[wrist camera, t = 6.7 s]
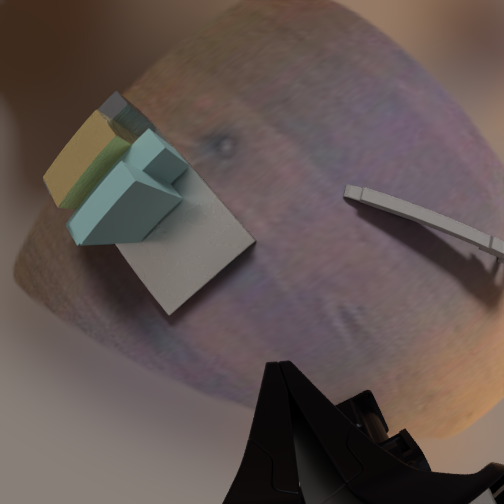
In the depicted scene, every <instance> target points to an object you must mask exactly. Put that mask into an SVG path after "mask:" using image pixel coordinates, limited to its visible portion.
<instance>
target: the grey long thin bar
mask: <svg viewBox="0 0 504 504" xmlns="http://www.w3.org/2000/svg"><path fill="white" fill-rule="evenodd" d="M344 197H347V198H350V199H354V200H357V201H359V202H361V203H364V204H367V205H369V206H372V207H375V208H378V209H381V210H384V211H387V212H390V213H392V214H395V215H398V216H401V217H404V218H407V219H410V220H412V221H415V222H418V223H421V224H423V225H426V226H429V227H431V228H434V229H436V230H439V231H441V232H444V233H446V234H449V235H451V236H454V237H456V238H459V239H461V240H463V241H466V242H468V243H470V244H473V245H475V246H477V247H479V249H480V250H482V251H485V252H487V253H489V254H491V255H494V256H496V257H498V261H497V262H499V263H504V241H502V240H500V239H498V238H496V237H494V236H489V235H487V234H485V233H483V232H480V231H478V230H476V229H474V228H472V227H469V226H467V225H465V224H462V223H460V222H458V221H455V220H453V219H451V218H448V217H446V216H443V215H441V214H438V213H436V212H433V211H431V210H428V209H426V208H423V207H420V206H418V205H415V204H412V203H410V202H407V201H404V200H401V199H398V198H395V197H393V196H390V195H387V194H384V193H381V192H377V191H374V190H371V189H368V188H365V187H364V188H359V187H356V186H353V185H348V184H347V185H346V189H345V192H344Z"/></svg>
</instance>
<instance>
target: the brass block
mask: <svg viewBox="0 0 504 504" xmlns="http://www.w3.org/2000/svg"><path fill="white" fill-rule="evenodd" d="M138 138H139V137H138V136H136V135H135V134H133V133H132V132H130V131H129V130H127V129H126V128H124V127H123V126H121V125H120V124H118V123H117V122H115V121H114V120H112V119H111V118H109V117H108V116H106V115H105V114H103V113H102V112H100V111H99V110H96V111H95V112H94V113H93V114H92V115H91V116H90V117H89V118H88V120H87V121H86V122H85V123H84V124H83V125H82V127H81V128H80V129H79V130H78V131H77V133H76V134H75V135H74V136H73V137H72V138H71V140H70V141H69V143H68V144H67V145H66V146H65V147H64V149H63V150H62V151H61V153H60V154H59V155H58V157H57V158H56V160H55V161H54V162H53V164H52V165H51V166H50V168H49V169H48V171H47V172H46V174H45V175H44V177H43V178H44V181H45V183H46V185H47V187H48V189H49V191H50V193H51V195H52V197H53V199H54V201H55V203H56V205H57V207H59V208H67V209H75V210H76V209H77V208H78V207H79V206H80V204H81V203H82V202H83V200H84V199H85V198H86V197H87V195H88V194H89V193H90V192H91V190H92V189H93V188H94V187H95V185H96V184H97V183H98V182H99V181H100V180H101V178H102V177H103V176H104V175H105V174H106V173H107V171H108V170H109V169H110V168H111V167H112V166H113V165H114V164H115V162H116V161H117V160H118V159H119V158H120V157H121V156H122V155H123V154H124V153H125V152H126V151H127V150H128V149H129V148H130V146H131V145H132V144H133V143H134V142H135V141H136V140H137V139H138Z"/></svg>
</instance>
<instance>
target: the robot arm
mask: <svg viewBox="0 0 504 504" xmlns="http://www.w3.org/2000/svg"><path fill="white" fill-rule="evenodd" d="M367 394H369V395H368V396H367V397H365V396H366V395H367ZM388 431H389V429H388V426H387V424H386V422H385V420H384V418H383V415H382V413H381V411H380V409H379V407H378V405H377V402H376V400H375V398H374V396H373V394H372V392H371V391H370V390H366V391H363V392H362V393H360V394H358V395H356V396H354V397H352V398H350V399H348V400H346V401H344V402H342V403H340V404H338V405H336V406H334V405H333V404H332V403H331V402H330V401H329V400H328V399H327V398H326V397H325V396H324V395H323V394H322V393H321V392H320V391H319V390H318V389H317V388H316V387H315V386H314V385H313V384H312V382H311V381H310V380H309V379H308V378H307V377H306V376H305V375H304V374H303V373H302V372H301V371H300V370H299V369H298V368H297V367H296V366H295V365H294V364H293V363H292V362H291V361H280V362H267V363H266V366H265V370H264V375H263V379H262V384H261V388H260V392H259V397H258V401H257V405H256V410H255V414H254V418H253V422H252V426H251V430H250V434H249V439H248V442H247V446H246V449H245V453H244V457H243V459H242V462H241V465H240V467H239V470H238V472H237V475H236V477H235V479H234V481H233V483H232V485H231V487H230V489H229V491H228V493H227V495H226V497H225V499H224V501H223V503H222V504H504V465H503V464H499V463H493V462H491V463H489V464H488V465H487V466H485V467H484V468H483V469H481V470H480V471H479V472H477V473H474V474H450V473H439V472H432V471H431V469H430V466H429V464H428V462H427V460H426V458H425V456H424V454H423V452H422V450H421V449H420V447H419V446H418V445H417V443H416V442H415V441H414V439H413V438H412V437H411V435H410V434H409V433H408V431H407V430H406V429H403V430H401V431H399V433H398V434H396V435H394V436H393V437H391V438H389V437H388V435H387V432H388ZM299 482H300V486H299Z"/></svg>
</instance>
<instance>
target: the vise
mask: <svg viewBox="0 0 504 504" xmlns="http://www.w3.org/2000/svg"><path fill="white" fill-rule="evenodd" d="M98 110H99V111H100V112H102V113H103V114H105V115H106V116H108V117H109V118H111V119H112V120H114V121H115V122H117V123H118V124H120V125H121V126H123V127H124V128H126V129H127V130H129V131H130V132H132V133H133V134H135V135H136V136H138V137H140V136H141V135H142V134H143V133H144V132H145V131H146V130H148V129H150V130H151V131H153V132H154V133H155V134H157V135H158V136H159V137H160V138H162V139H163V140H164V141H165V142H167V143H168V144H169V145H170V146H172V147H173V148H174V149H175V150H176V151H177V152H178V153H179V154H180V156H181V157H182V158H183V159H184V160H185V161H186V162H187V164H188V165H189V167H188V168H187V169H186V170H185V171H184V172H183V173H182V174H180V175H179V176H178V177H177V178H176V179H175V180H174V181H173V182H172V183H171V185H172V186H173V188H174V189H175V190H176V191H177V192H178V194H179V195H180V196H181V197H182V198H183V199H182V200H181V201H180V202H179V203H178V204H177V205H176V206H175V207H174V208H173V209H172V210H170V211H169V212H168V213H167V214H166V215H165V216H164V217H163V218H162V219H161V220H160V221H159V222H158V223H157V224H156V225H155V226H154V227H153V228H152V229H151V230H150V231H149V233H148V234H147V235H146V236H145V237H144V238H143V239H142V240H141V241H140V242H139V243H115V245H116V246H117V247H118V249H119V250H120V252H121V253H122V255H123V256H124V257H125V259H126V260H127V262H128V263H129V264H130V266H131V267H132V269H133V270H134V271H135V273H136V274H137V275H138V277H139V278H140V279H141V281H142V282H143V283H144V285H145V286H146V287H147V289H148V290H149V291H150V292H151V294H152V295H153V296H154V298H155V299H156V300H157V301H158V303H159V304H160V305H161V306H162V308H163V309H164V310H165V311H166V313H167V314H168V315H170V314H172V313H173V312H175V311H176V310H177V309H179V308H180V307H181V306H182V305H183V304H184V303H185V302H187V301H188V300H189V299H190V298H191V297H192V296H193V295H195V294H196V293H197V292H198V291H199V290H200V289H201V288H203V287H204V286H205V285H206V284H207V283H208V282H209V281H211V280H212V279H213V278H214V277H215V276H216V275H218V274H219V273H220V272H221V271H222V270H223V269H224V268H226V267H227V266H228V265H229V264H230V263H231V262H232V261H234V260H235V259H236V258H237V257H238V256H239V255H241V254H242V253H243V252H244V251H245V250H246V249H247V248H249V247H250V246H251V245H252V244H253V243H254V242H256V241H257V240H256V239H255V238H254V237H253V236H252V235H251V233H250V232H249V231H248V230H247V229H246V228H245V227H244V225H243V224H242V223H241V222H240V221H239V220H238V218H237V217H236V216H235V215H234V214H233V213H232V211H231V210H230V209H229V208H228V207H227V206H226V205H225V203H224V202H223V201H222V200H221V199H220V198H219V197H218V195H217V194H216V193H215V192H214V191H213V190H212V188H211V187H210V186H209V185H208V184H207V183H206V182H205V180H204V179H203V178H202V177H201V176H200V175H199V174H198V172H197V171H196V170H195V169H194V168H193V167H192V166H191V164H190V163H189V162H188V161H187V160H186V159H185V158H184V157H183V155H182V154H181V153H180V152H179V151H178V150H177V149H176V147H175V146H174V145H173V144H172V143H171V142H170V141H169V140H168V138H167V137H166V136H165V135H164V134H163V133H162V132H161V131H160V129H159V128H158V127H157V126H156V125H155V124H154V123H153V122H152V120H151V119H150V118H149V117H148V116H146V115H145V114H144V113H143V112H141V111H140V110H139V109H137V108H136V107H135V106H134V105H133V104H132V103H130V102H129V101H128V100H127V99H126V98H124V97H123V96H122V95H121V94H120V93H118V92H117V91H115V92H114V94H112V95H111V96H110V97H109V98H108V99H107V100H106V101H105V103H104V104H103V105H102V106H101V107H100V108H99V109H98ZM43 181H44V178H43ZM44 183H45V181H44ZM45 185H46V183H45ZM46 187H47V185H46ZM47 189H48V187H47ZM48 191H49V189H48ZM49 194H50V196H52V195H51V193H50V191H49Z"/></svg>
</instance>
